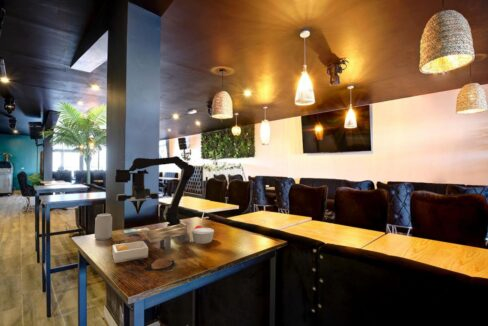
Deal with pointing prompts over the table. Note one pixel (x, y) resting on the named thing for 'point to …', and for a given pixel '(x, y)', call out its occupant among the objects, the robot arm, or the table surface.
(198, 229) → the ramekin
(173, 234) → the chute
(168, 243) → the pivot stand
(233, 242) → the table surface
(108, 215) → the can
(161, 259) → the bread roll
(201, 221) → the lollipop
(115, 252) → the bin
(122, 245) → the ball
